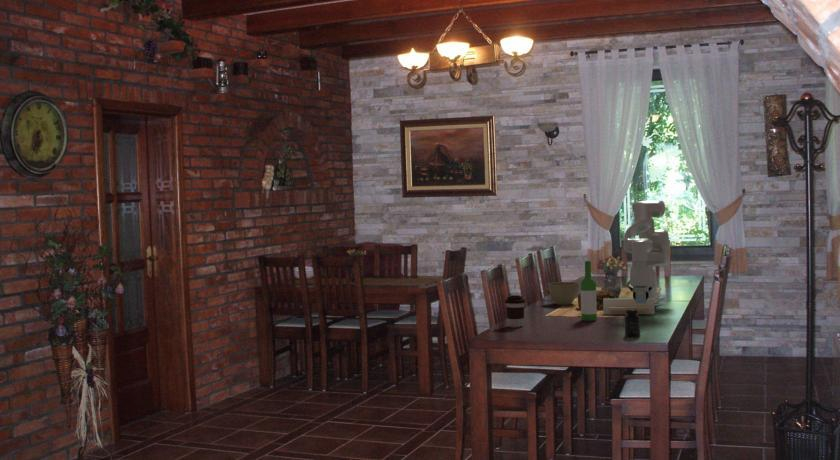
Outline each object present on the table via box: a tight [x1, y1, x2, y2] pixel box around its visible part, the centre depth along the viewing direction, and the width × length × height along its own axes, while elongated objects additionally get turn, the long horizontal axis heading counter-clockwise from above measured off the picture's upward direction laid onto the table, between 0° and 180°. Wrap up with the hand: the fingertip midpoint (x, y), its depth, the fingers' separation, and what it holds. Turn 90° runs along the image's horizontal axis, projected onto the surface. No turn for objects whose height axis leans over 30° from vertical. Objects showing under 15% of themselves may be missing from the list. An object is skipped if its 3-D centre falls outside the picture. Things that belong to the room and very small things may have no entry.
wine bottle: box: [580, 260, 598, 322], centre depth 424 cm, size 8×8×30 cm
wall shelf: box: [602, 298, 656, 315], centre depth 441 cm, size 11×26×8 cm, turn 76°
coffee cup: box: [504, 294, 526, 328], centre depth 414 cm, size 10×10×15 cm
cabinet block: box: [635, 287, 646, 303], centre depth 427 cm, size 7×5×8 cm
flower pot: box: [547, 281, 580, 306], centre depth 486 cm, size 18×18×12 cm
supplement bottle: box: [623, 309, 641, 338], centre depth 377 cm, size 7×7×12 cm
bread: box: [577, 289, 615, 310], centre depth 466 cm, size 19×11×10 cm, turn 90°
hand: (640, 299), depth 428 cm, fingers closed on cabinet block, 5 cm apart
